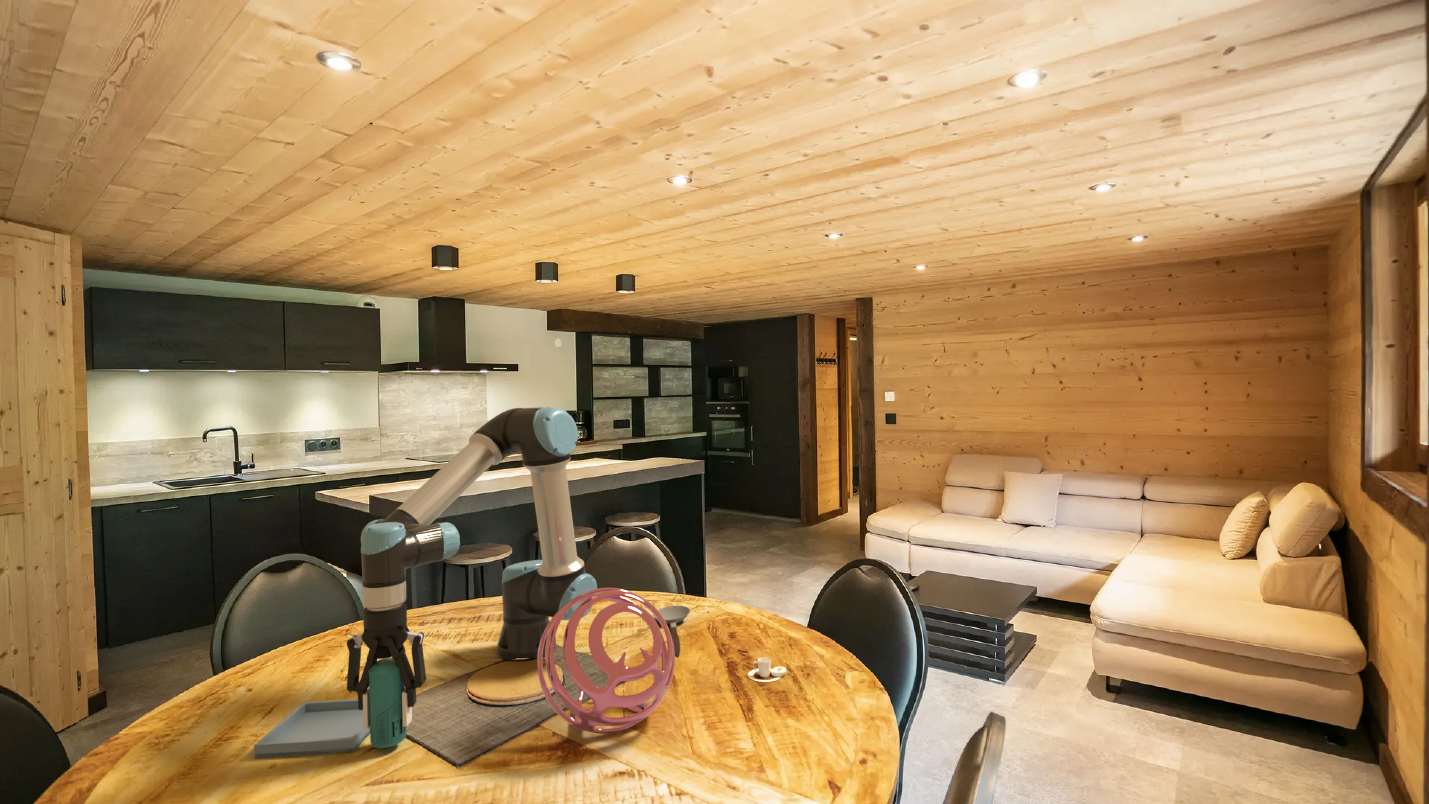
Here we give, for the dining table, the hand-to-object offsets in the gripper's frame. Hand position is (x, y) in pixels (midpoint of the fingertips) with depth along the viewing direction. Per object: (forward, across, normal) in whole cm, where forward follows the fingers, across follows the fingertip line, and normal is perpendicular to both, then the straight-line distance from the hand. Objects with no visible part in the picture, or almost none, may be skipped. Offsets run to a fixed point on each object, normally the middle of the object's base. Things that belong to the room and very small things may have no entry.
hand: (388, 724), depth 130 cm
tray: (+4, +15, -8) cm, 18 cm away
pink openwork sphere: (+5, -42, -4) cm, 42 cm away
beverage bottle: (+5, 0, 0) cm, 5 cm away
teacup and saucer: (+5, -78, -21) cm, 81 cm away
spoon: (+5, -56, -54) cm, 78 cm away
